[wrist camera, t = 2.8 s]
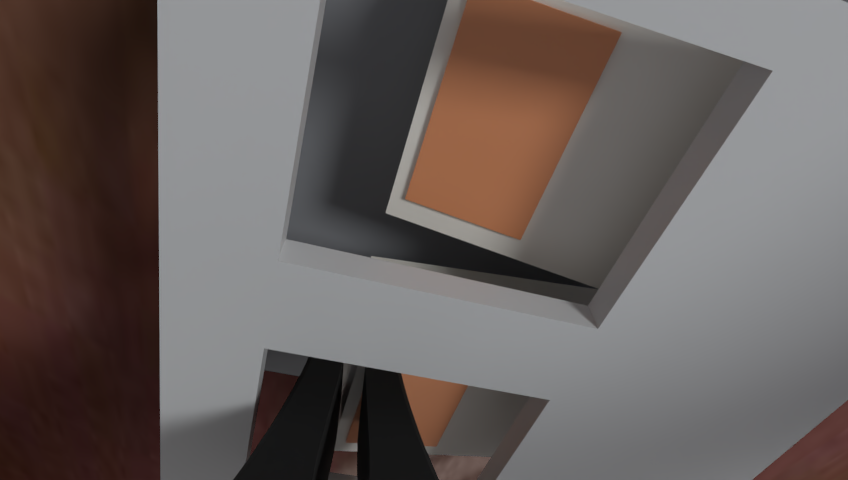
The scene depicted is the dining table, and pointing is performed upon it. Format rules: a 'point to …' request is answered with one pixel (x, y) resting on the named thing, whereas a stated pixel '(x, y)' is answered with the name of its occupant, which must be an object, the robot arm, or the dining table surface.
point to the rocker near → (551, 130)
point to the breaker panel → (481, 302)
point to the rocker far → (452, 387)
